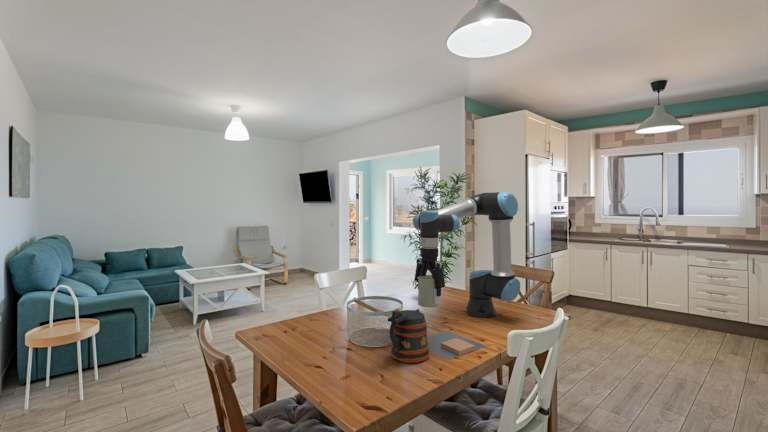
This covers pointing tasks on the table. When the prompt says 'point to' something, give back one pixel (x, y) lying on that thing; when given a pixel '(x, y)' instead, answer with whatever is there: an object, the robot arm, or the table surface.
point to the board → (438, 338)
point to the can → (426, 291)
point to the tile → (458, 346)
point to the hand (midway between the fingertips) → (429, 301)
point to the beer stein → (408, 336)
